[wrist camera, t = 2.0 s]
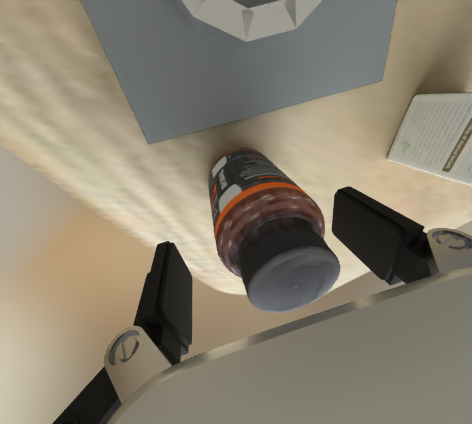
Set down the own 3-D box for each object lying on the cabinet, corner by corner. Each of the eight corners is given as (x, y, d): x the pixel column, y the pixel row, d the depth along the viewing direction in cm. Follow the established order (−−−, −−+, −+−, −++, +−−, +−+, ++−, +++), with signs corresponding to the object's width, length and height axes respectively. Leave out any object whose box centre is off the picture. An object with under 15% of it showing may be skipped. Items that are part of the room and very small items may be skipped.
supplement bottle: (195, 163, 15) (192, 268, 6) (261, 134, 15) (370, 195, 6) (223, 217, 19) (250, 340, 9) (278, 194, 18) (364, 296, 9)
